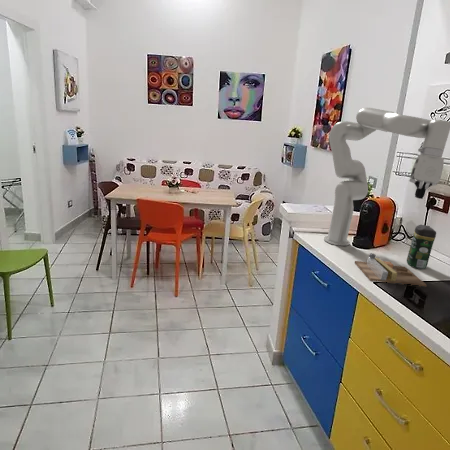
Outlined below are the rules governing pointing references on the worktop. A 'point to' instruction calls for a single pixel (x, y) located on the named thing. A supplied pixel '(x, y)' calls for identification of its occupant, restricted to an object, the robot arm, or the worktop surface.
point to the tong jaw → (391, 272)
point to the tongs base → (376, 267)
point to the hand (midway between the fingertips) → (418, 197)
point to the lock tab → (389, 264)
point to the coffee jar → (421, 246)
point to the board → (402, 277)
